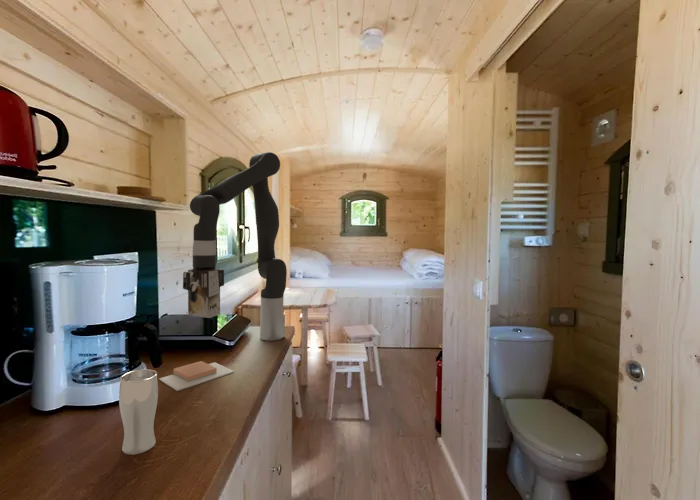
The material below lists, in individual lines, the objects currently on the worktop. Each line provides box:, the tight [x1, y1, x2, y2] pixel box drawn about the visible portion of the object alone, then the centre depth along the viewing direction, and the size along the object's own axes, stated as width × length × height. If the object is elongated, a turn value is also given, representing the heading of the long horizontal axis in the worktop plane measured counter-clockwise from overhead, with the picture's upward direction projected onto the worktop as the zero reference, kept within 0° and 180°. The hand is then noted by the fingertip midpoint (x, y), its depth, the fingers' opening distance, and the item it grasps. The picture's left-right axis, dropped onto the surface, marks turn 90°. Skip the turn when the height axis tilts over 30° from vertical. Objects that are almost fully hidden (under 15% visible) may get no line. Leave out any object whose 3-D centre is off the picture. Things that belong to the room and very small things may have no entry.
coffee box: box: [187, 268, 221, 319], centre depth 127 cm, size 9×6×16 cm
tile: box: [173, 360, 217, 382], centre depth 112 cm, size 9×2×9 cm
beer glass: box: [118, 368, 159, 456], centre depth 75 cm, size 7×7×15 cm
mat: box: [158, 362, 235, 392], centre depth 111 cm, size 18×11×1 cm, turn 141°
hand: (204, 300), depth 127 cm, fingers closed on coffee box, 7 cm apart
